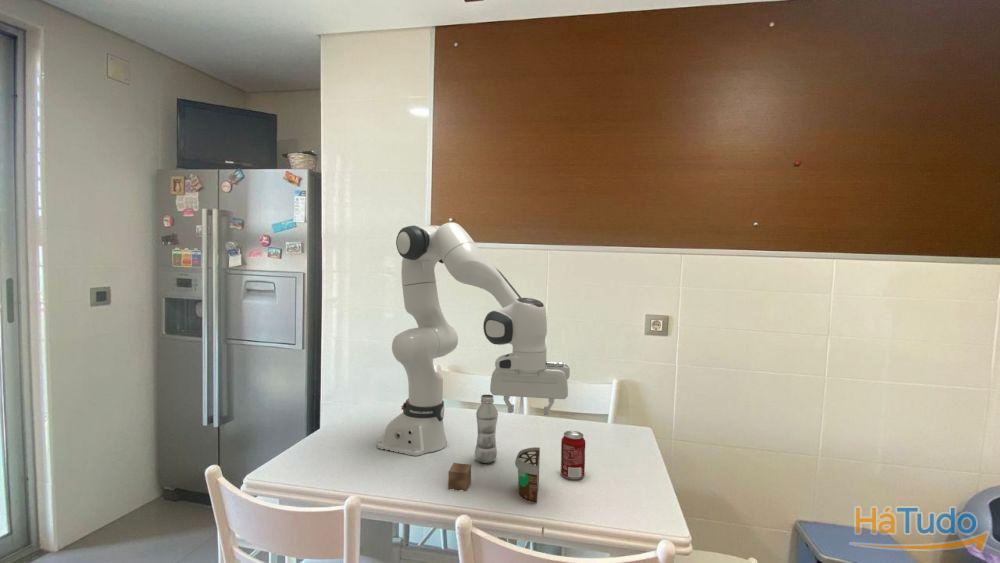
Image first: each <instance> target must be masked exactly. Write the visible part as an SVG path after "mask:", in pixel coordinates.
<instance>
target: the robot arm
mask: <svg viewBox="0 0 1000 563" xmlns="http://www.w3.org/2000/svg"><path fill="white" fill-rule="evenodd" d="M395 244H396V250H397V251H398V253H399V256H401V257H402V260H401V287H402V295H403V303H404V305H403V306H404V309H405V311H406V312H407V313H408V314H410V315H411V317H413V318H414V320H415V322H416V325H417V327H413V328H409V329H406V330H403V331H402V332H400V333H398V334H396V335H395V336H394V338H393V339H392V344H391V351H392V355H393V356H394V358H395V360H396V361H397V362H399V363H400V364H401V365H402V367H403V368H404V370H405V373H406V375H407V376H406V377H407V380H408V381H407V383H408V384H407V385H408V398H407V399H406V400H405V402H404V403H403V404H402V405H401V411H402V412H401V413H400V414H399V415H396V417H394V418H393V419H392V420H391V421H389V423H388V424H387V425H386V428H385V431H384V434H383V435H382V436H381V437H380V438H379V439H378V441H377V443H376V447H377V449H378V448H380V449H379V450H383V449H385V450H384V451H388V450H390V452H393V451H394V453H398V452H399V454H403V453H404V455H409V456H415V457H417V456H421V455H424V454H428V453H432V452H438V451H439V450H442V449H444V448H445V447H446V446H447V443H448V441H447V438H446V432H445V427H444V426H445V425H444V418H445V404H444V403H445V400H443V395H444V393H443V391H444V388H443V387H444V380H443V377H442V375H441V374H440V373H439V372H437V371H436V370H435V366H434V359H438V358H442V357H445V356H446V355H447V356H448V354H451V353H452V352H454V350H455V349H457V346H458V343H459V336H458V334H457V331H456V330H455V328H454V327H452V326H451V325H450V324H449V322H448V321H447V320H446V318H445V316H444V314H443V312H442V311H443V310H442V309H441V306H440V302H439V294H438V287H437V279H436V274H435V267H436V264H437V263H438V262H439V263H440V264H444V266H445V268H446V270H447V271H448V273H449V275H451V276H452V277H453V279H455V280H456V281H457V282H458V283H461V284H463V285H468V286H473V287H476V288H479V289H482V290H484V291H485V292H488V293H490V294H491V295H492V296H493V297H494V299H495V300H496V301H497V302H498V303H499V305H500V307H501V308H497V309H494V310H492V311H490V312H488V313H487V314H486V316H485V318H484V320H483V326H482V327H483V328H482V329H483V333H484V336H485V338H486V339H487V340H488V341H489V343H491V344H493V345H499V346H503V345H508V344H509V345H512V352H511V353H507V354H503V355H500V356H498V358H496V360H495V362H494V367H495V368H494V370H493V372H492V374H491V378H490V383H489V385H490V389H489V391H490V393H491V395H493V396H498V397H499V396H501V397H502V396H503V401H504V404H505V405H506V407H507V413H508V414H510V413H511V414H513V413H514V411H515V404H512V403H511V401H510V398H511V397H516V398H517V397H519V398H534V399H535V398H536V399H548V403H549V404H548V405H547V406H543V415H544V416H550V414H551V408H552V406H553V405H554V404H555V403H554V402H555V400H566V399H567V397H568V396H569V387H568V386H569V385H568V379H569V378H570V376H571V375H570V374H571V370H570V366H568V365H567V364H566V363H564V362H562V361H561V362H560V361H558V362H556V361H547V350H548V349H547V345H546V337H547V335H548V321H547V320H548V318H547V311H546V306H545V305H544V303H543V302H542V301H541V300H538V299H536V298H531V297H521V296H520V294H519V293H518V291H516V289H515V288H514V286H513V285H512V284H511V282H510V281H509V280H508V279H507V278H506V277H505V275H504V274H503V273H502V272H501V271H500V269H498V268H497V267H496V266H494V265H493V264H492V262H490V260H488V258H487V257H486V256H485V255H484V253H482V251H481V250H480V248H479V247H478V246H477V244H476V242H475V240H474V239H472V237H471V236H470V235H469V233H468V232H467V231H466V230H465V229H464V228H463V227H462V226H461V225H460V224H458V223H457V222H453V221H452V222H445V223H443V224H442V225H434V224H433V225H431V224H429V225H409V226H405V227H404V226H403V227H402V228H401V229H400V230H399V231H398V233H397V236H396V241H395Z"/></svg>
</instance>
